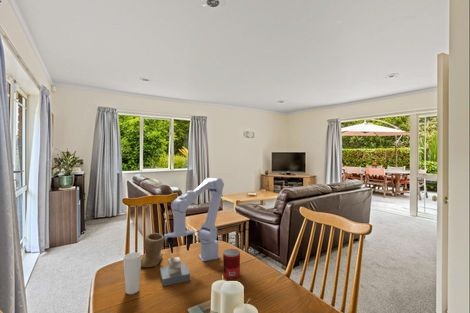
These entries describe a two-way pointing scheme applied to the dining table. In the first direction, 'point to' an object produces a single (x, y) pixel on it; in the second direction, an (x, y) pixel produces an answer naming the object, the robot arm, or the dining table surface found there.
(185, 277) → the base
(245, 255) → the dining table surface
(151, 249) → the stone cup
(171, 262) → the cube
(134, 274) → the drinking glass
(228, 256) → the canned food
